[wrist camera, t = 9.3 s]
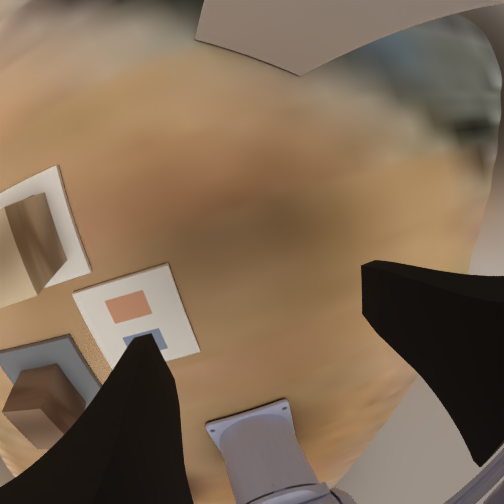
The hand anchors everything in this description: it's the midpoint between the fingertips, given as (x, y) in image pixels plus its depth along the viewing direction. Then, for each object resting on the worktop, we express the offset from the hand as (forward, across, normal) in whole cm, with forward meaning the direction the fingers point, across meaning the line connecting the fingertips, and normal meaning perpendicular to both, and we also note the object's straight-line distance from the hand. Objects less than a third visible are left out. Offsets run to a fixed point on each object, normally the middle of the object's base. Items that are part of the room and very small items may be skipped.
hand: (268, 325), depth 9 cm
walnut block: (+9, +17, +8) cm, 21 cm away
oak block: (+10, +12, -4) cm, 16 cm away
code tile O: (+10, +12, -4) cm, 16 cm away
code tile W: (+10, +7, +4) cm, 13 cm away
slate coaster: (+10, +17, +8) cm, 21 cm away
